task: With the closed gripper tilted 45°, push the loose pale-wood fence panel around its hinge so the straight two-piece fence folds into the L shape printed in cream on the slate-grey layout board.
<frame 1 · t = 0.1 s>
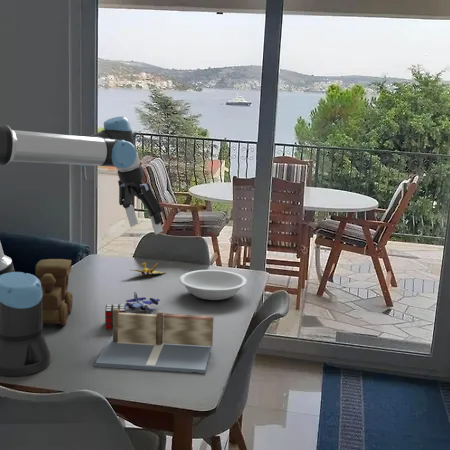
hand: (146, 228, 195), 28 cm above the table, tool tilted 20°, fingers open, 13 cm apart
fence panel: (188, 329, 172), point 6 cm above the table, hinge at 0.0°
layout board: (157, 351, 170), on the table
toy airplane: (142, 312, 200), on the table
wooden toy train: (52, 318, 192), on the table
fence fixed section: (159, 347, 173), resting on layout board
soup bowl: (212, 297, 218), on the table
puzzle toy: (115, 326, 188), on the table
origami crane: (147, 276, 239), on the table
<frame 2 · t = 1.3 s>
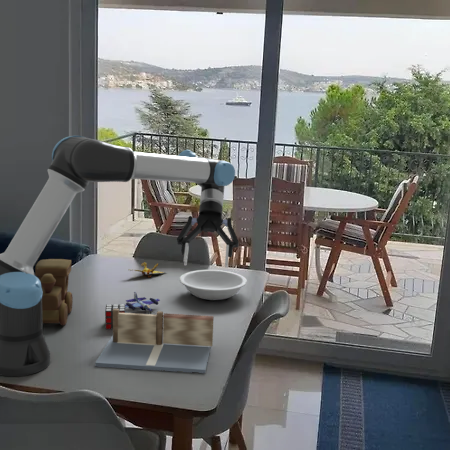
hand: (205, 264, 186), 20 cm above the table, tool tilted 45°, fingers open, 12 cm apart
nothing on the table moved.
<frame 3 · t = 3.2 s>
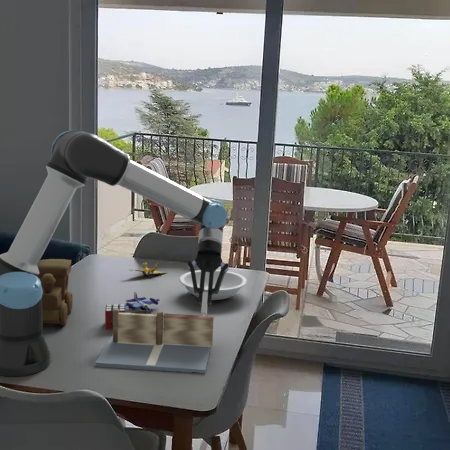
hand: (203, 313, 179), 8 cm above the table, tool tilted 45°, fingers closed
nothing on the table moved.
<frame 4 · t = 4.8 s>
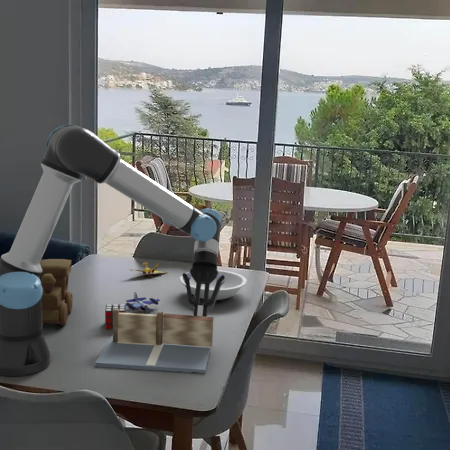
hand: (198, 328, 173), 6 cm above the table, tool tilted 45°, fingers closed
fence panel: (187, 330, 171), point 6 cm above the table, hinge at 2.5°, touching gripper
everything else where it was.
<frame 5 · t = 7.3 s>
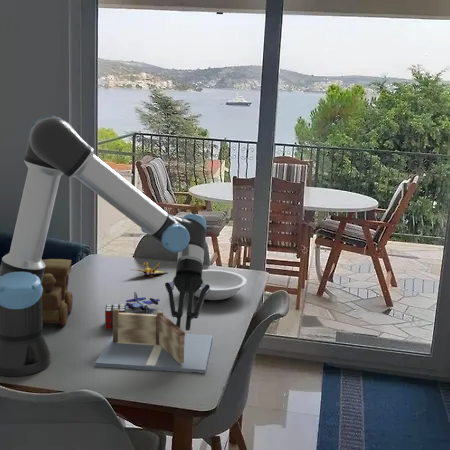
hand: (181, 340, 164), 6 cm above the table, tool tilted 45°, fingers closed
fence panel: (171, 338, 165), point 6 cm above the table, hinge at 57.8°, touching gripper
everything else where it was.
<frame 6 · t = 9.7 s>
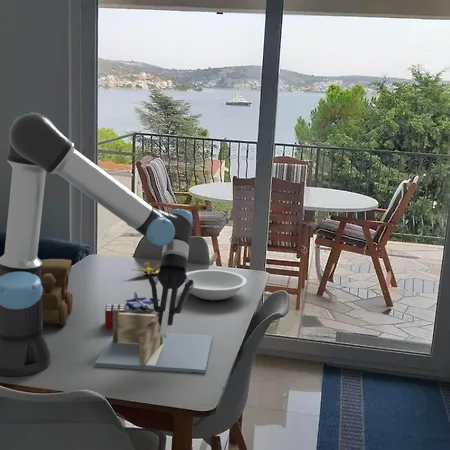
hand: (163, 335, 162), 8 cm above the table, tool tilted 45°, fingers closed
fence panel: (150, 339, 164), point 6 cm above the table, hinge at 98.3°
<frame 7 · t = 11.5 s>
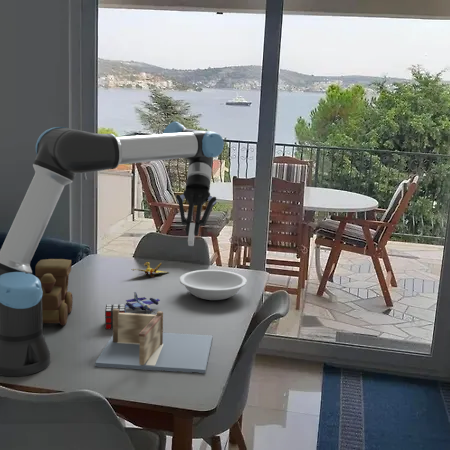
hand: (190, 243, 182), 27 cm above the table, tool tilted 45°, fingers closed
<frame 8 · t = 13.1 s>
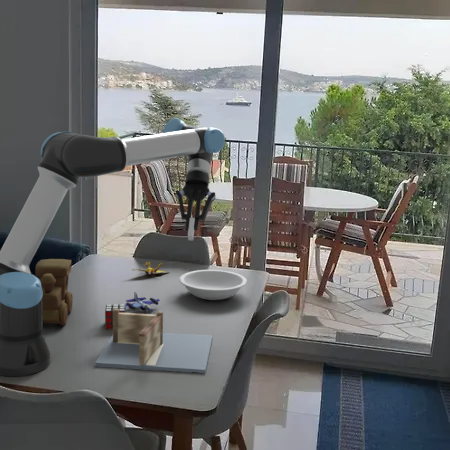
hand: (190, 238, 185), 28 cm above the table, tool tilted 45°, fingers closed
at the end: fence panel at +98° (first picture: +0°) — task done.
